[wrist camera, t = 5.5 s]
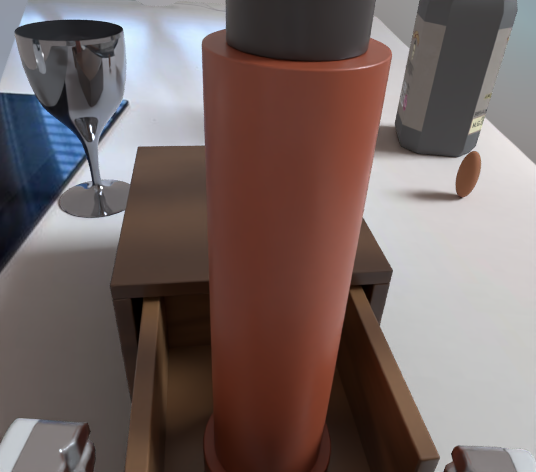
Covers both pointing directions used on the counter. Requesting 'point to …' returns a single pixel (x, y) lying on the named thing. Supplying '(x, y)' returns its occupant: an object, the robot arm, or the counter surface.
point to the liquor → (452, 73)
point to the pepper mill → (284, 218)
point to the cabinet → (189, 243)
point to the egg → (468, 174)
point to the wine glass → (79, 95)
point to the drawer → (201, 394)
